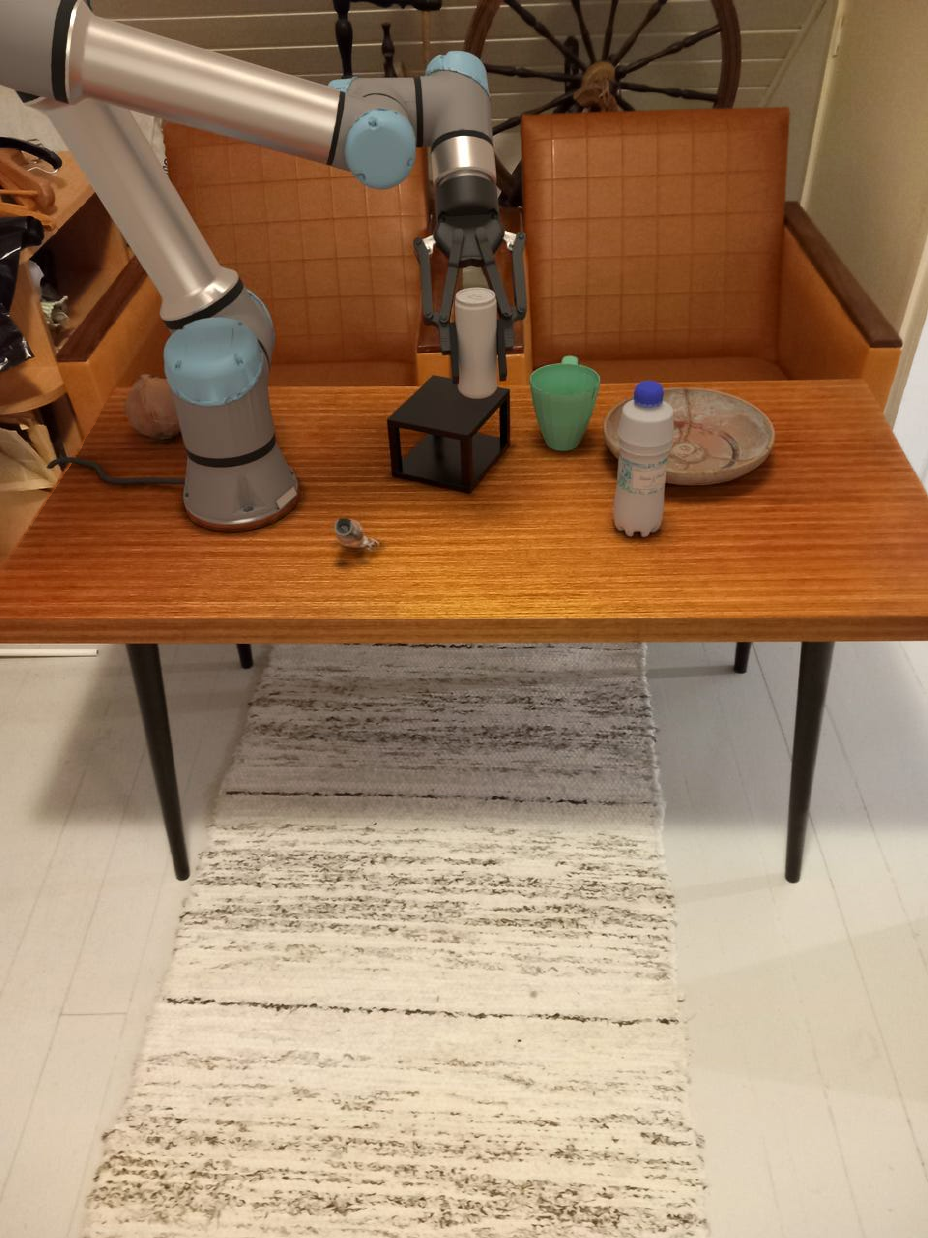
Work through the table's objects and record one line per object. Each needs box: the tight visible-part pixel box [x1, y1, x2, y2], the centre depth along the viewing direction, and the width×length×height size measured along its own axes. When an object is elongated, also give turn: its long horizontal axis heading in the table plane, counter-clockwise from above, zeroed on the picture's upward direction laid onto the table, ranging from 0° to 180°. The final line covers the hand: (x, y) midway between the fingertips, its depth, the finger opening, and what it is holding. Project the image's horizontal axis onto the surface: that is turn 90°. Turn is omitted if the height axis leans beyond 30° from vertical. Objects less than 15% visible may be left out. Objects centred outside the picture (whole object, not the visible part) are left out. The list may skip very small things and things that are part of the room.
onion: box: [124, 373, 181, 441], centre depth 146 cm, size 10×9×10 cm
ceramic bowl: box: [602, 386, 776, 487], centre depth 137 cm, size 23×24×5 cm
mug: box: [529, 355, 601, 452], centre depth 142 cm, size 15×10×10 cm
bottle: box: [612, 380, 674, 538], centre depth 120 cm, size 7×7×20 cm
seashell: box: [324, 517, 380, 551], centre depth 122 cm, size 5×5×6 cm
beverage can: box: [454, 287, 498, 399], centre depth 117 cm, size 5×5×12 cm
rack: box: [386, 374, 511, 495], centre depth 137 cm, size 12×14×9 cm
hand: (479, 378), depth 115 cm, fingers closed on beverage can, 5 cm apart
